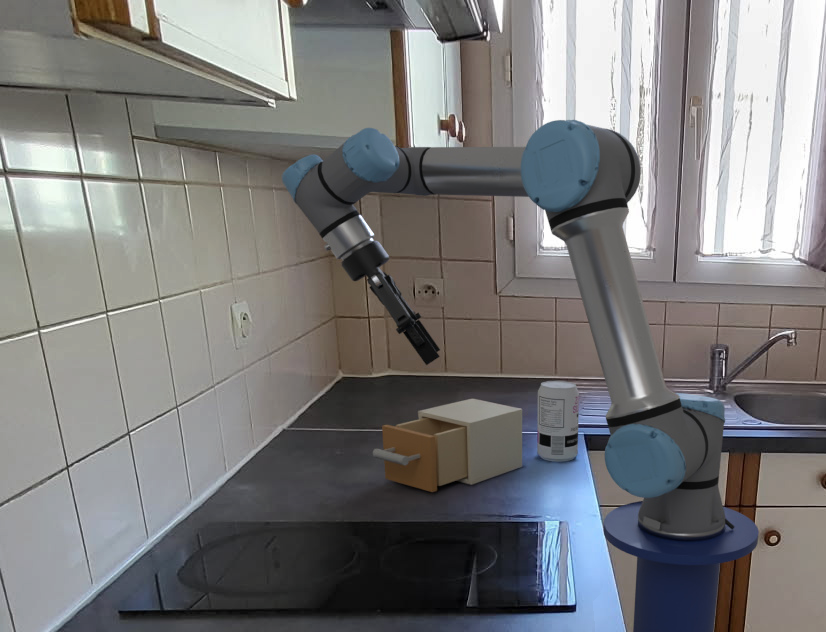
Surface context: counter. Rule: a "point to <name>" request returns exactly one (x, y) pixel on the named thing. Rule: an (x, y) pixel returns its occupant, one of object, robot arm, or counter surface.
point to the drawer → (424, 453)
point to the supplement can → (557, 421)
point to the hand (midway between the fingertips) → (433, 357)
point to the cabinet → (485, 435)
